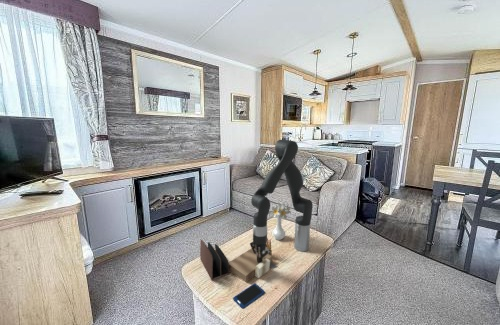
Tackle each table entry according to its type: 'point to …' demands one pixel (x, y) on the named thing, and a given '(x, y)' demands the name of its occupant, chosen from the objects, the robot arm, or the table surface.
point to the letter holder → (213, 260)
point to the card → (262, 268)
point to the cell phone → (248, 295)
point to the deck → (246, 265)
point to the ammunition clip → (269, 246)
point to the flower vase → (279, 219)
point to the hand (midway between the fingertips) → (259, 262)
